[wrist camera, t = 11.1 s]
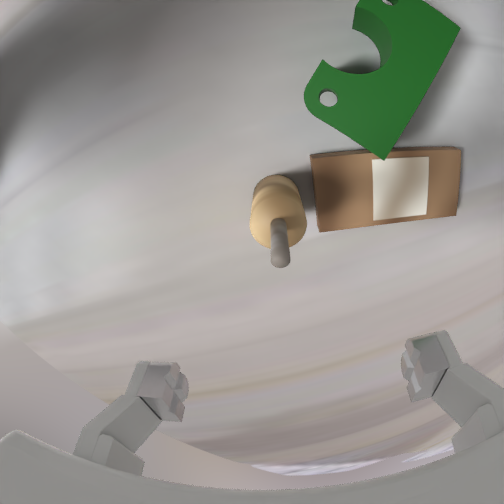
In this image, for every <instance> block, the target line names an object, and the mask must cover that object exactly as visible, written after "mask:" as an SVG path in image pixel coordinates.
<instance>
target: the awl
mask: <svg viewBox="0 0 504 504" xmlns="http://www.w3.org/2000/svg"><path fill="white" fill-rule="evenodd" d="M306 227H307V220H306V216H305V212H304V208H303V205H302V201H301V198H300V194H299V191H298V188H297V186H296V185H295V183H294V182H293V181H292V180H291V179H289V178H287V177H285V176H282V175H271V176H267V177H265V178H263V179H262V180H261V181H260V182H259V183H258V184H257V185H256V187H255V190H254V194H253V201H252V209H251V217H250V230H251V233H252V235H253V237H254V238H255V239H256V241H257V242H258V243H260V244H261V245H263V246H265V247H267V248H270V249H271V263H272V265H273V266H275V267H277V268H284V267H286V266H287V265H288V264H289V263H290V251H289V247H291V246H293V245H295V244H296V243H298V242H299V241H300V240H301V239H302V237H303V236H304V234H305V231H306Z"/></svg>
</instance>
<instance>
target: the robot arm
mask: <svg viewBox="0 0 504 504" xmlns="http://www.w3.org/2000/svg"><path fill="white" fill-rule="evenodd" d="M405 347H406V351H405V352H404V353H403V354H402V358H401V369H402V374H403V377H404V378H405V379H406V380H408V381H409V383H408V386H407V390H408V393H409V397H410V400H411V402H415V401H419V400H423V399H426V398H430V397H432V399H433V400H434V401H435V402H436V403H437V404H438V405H439V406H440V407H441V408H442V409H443V410H444V411H445V412H446V413H447V414H448V415H450V416H451V417H452V418H453V419H454V420H455V421H456V422H457V423H458V424H459V425H460V426H461V428H460V429H459V431H458V432H457V433H456V434H455V435H454V436H453V438H452V443H453V447H454V451H455V454H453V455H451V456H448V457H445V458H443V459H440V460H437V461H434V462H432V463H429V464H426V465H422V466H420V467H416V468H413V469H409V470H406V471H402V472H399V473H395V474H391V475H387V476H383V477H379V478H374V479H369V480H364V481H359V482H353V483H347V484H340V485H333V486H325V487H316V488H305V489H287V490H240V489H223V488H212V487H202V486H194V485H186V484H180V483H174V482H168V481H163V480H158V479H153V478H149V477H144V476H142V471H143V467H144V463H145V462H144V461H143V459H142V458H140V457H138V456H137V455H136V454H134V453H135V452H136V451H137V449H138V448H139V447H140V446H141V445H142V444H143V443H144V442H145V440H146V439H147V438H148V437H149V436H150V435H151V434H152V433H153V431H154V430H155V429H156V428H157V427H158V426H159V424H160V423H161V422H162V421H175V422H182V418H183V414H184V409H185V407H184V405H183V403H182V402H183V401H184V400H185V399H186V398H187V396H188V391H189V387H188V381H187V378H186V376H185V375H184V374H182V373H181V372H179V371H180V367H179V365H178V364H177V363H173V362H152V361H139V362H138V363H137V365H136V367H135V370H134V372H133V375H132V377H131V380H130V382H129V385H128V388H127V390H126V393H125V395H121V396H120V397H118V398H117V399H116V400H115V401H114V402H113V403H111V404H110V405H109V406H108V407H107V408H106V409H104V410H103V411H102V412H101V413H100V414H98V415H97V416H96V417H95V418H94V419H92V420H91V421H90V422H89V423H88V424H87V425H86V426H84V427H83V429H82V431H81V434H80V436H79V439H78V442H77V444H76V448H75V450H74V453H73V454H70V453H67V452H65V451H63V450H60V449H58V448H56V447H53V446H51V445H49V444H47V443H45V442H42V441H40V440H38V439H36V438H34V437H32V436H30V435H28V434H26V433H25V432H22V431H20V430H14V431H12V432H10V433H9V434H7V435H6V436H4V437H3V438H1V439H0V504H504V388H502V387H501V386H500V385H498V384H497V383H495V382H494V381H492V380H491V379H489V378H488V377H486V376H485V375H484V374H482V373H481V372H479V371H478V370H476V369H475V368H473V367H472V366H470V365H469V364H467V363H464V364H463V362H462V360H461V358H460V356H459V354H458V352H457V350H456V348H455V346H454V344H453V342H452V340H451V338H450V336H449V334H448V332H447V331H446V330H442V331H438V332H434V333H429V334H425V335H421V336H417V337H413V338H409V339H408V340H407V341H406V344H405ZM161 420H162V421H161Z"/></svg>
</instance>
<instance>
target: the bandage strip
mask: <svg viewBox="0 0 504 504" xmlns="http://www.w3.org/2000/svg"><path fill="white" fill-rule="evenodd" d="M310 160H311V168H312V177H313V186H314V195H315V204H316V215H317V226H318V229H319V232H327V231H335V230H343V229H350V228H358V227H366V226H374V225H382V224H390V223H398V222H406V221H414V220H423V219H431V218H439V217H448V216H456V212H457V204H458V194H459V183H460V167H461V150H460V149H458V148H455V147H403V148H392V150H391V151H390V153H389V154H388V156H387V157H386V159H385V161H383V160H382V159H380V158H379V157H377V156H376V155H374V154H373V153H372V152H370V151H369V150H354V151H343V152H332V153H323V154H314V155H310Z"/></svg>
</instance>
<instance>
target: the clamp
mask: <svg viewBox="0 0 504 504" xmlns="http://www.w3.org/2000/svg"><path fill="white" fill-rule="evenodd" d="M387 1H389V2H391V3H392V4H393V6H391V5H387V4H385V3H384V2H383V1H382V0H360V1H359V2H358V4H357V5H356V8H355V14H354V20H353V26H352V29H355V30H357V31H360V32H362V33H363V34H365V35H366V36H368V37H369V38H370V39H371V40H372V41H373V42H374V43H375V45H376V46H377V48H378V50H379V53H380V59H381V62H380V68H379V69H378V70H376V71H373V72H370V73H366V74H351V73H346V72H343V71H340V70H338V69H336V68H334V67H332V66H330V65H329V64H328V63H326V62H325V61H324V60H323V59H322V61H321V63H320V64H319V66H318V68H317V69H316V71H315V73H314V74H313V76H312V78H311V79H310V81H309V83H308V84H307V86H306V88H305V91H304V101H305V104H306V107H307V108H308V110H309V111H310V112H311V113H312V114H313V115H314V116H315V117H317V118H319V119H320V120H322V121H324V122H325V123H327V124H329V125H330V126H332V127H334V128H335V129H337V130H339V131H340V132H342V133H343V134H345V135H346V136H348V137H350V138H351V139H352V140H354V141H355V142H357V143H358V144H360V145H361V146H363V147H364V148H366V149H367V150H369V151H370V152H372V153H373V154H374V155H376V156H377V157H379V158H380V159H382V160H383V161H385V159H386V157H387V156H388V154H389V153H390V151H391V150H392V148H393V146H394V145H395V143H396V142H397V140H398V138H399V137H400V135H401V134H402V132H403V130H404V129H405V127H406V125H407V124H408V122H409V121H410V119H411V117H412V116H413V114H414V112H415V111H416V109H417V107H418V106H419V104H420V102H421V100H422V99H423V97H424V95H425V93H426V92H427V90H428V88H429V87H430V85H431V83H432V81H433V79H434V78H435V76H436V74H437V72H438V70H439V69H440V67H441V65H442V63H443V61H444V59H445V57H446V56H447V54H448V52H449V50H450V48H451V46H452V44H453V42H454V40H455V38H456V36H457V34H458V32H459V30H460V27H459V26H458V25H456V24H455V23H454V22H452V21H451V20H450V19H448V18H447V17H446V16H444V15H443V14H442V13H440V12H439V11H437V10H436V9H435V8H433V7H432V6H430V5H429V4H427V3H426V2H424V1H423V0H387ZM326 91H330V92H333V93H334V94H335V95H336V96H337V99H338V101H337V103H336V104H335V105H334V106H331V107H327V106H324V105H322V104H321V103H320V96H321V94H322V93H324V92H326Z"/></svg>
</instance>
